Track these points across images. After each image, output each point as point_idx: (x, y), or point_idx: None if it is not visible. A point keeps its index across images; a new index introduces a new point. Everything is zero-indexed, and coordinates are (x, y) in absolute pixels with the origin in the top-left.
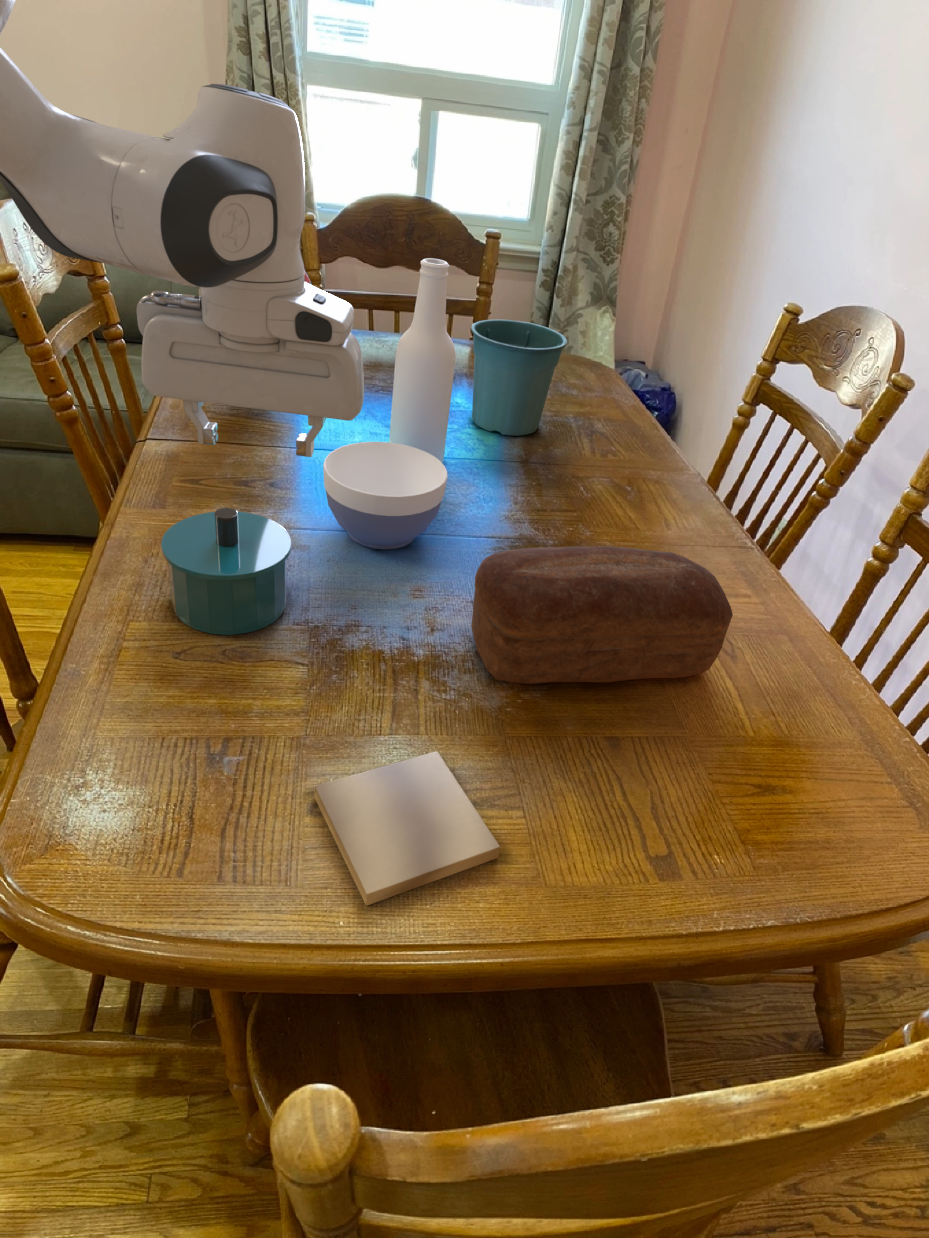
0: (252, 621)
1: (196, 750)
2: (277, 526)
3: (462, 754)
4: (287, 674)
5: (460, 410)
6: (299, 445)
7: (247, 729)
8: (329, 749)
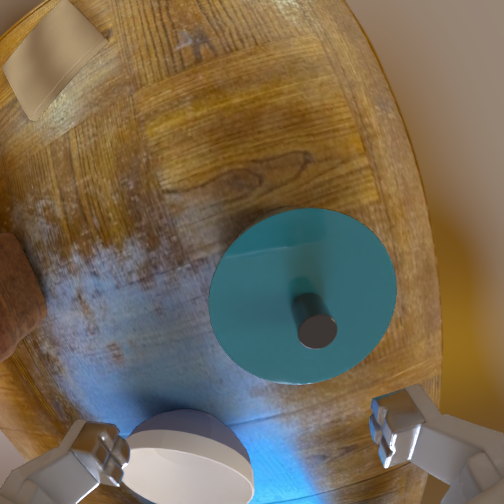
0: (244, 229)
1: (220, 41)
2: (254, 369)
3: (23, 140)
4: (177, 168)
5: None
6: (88, 442)
7: (185, 78)
8: (108, 89)
